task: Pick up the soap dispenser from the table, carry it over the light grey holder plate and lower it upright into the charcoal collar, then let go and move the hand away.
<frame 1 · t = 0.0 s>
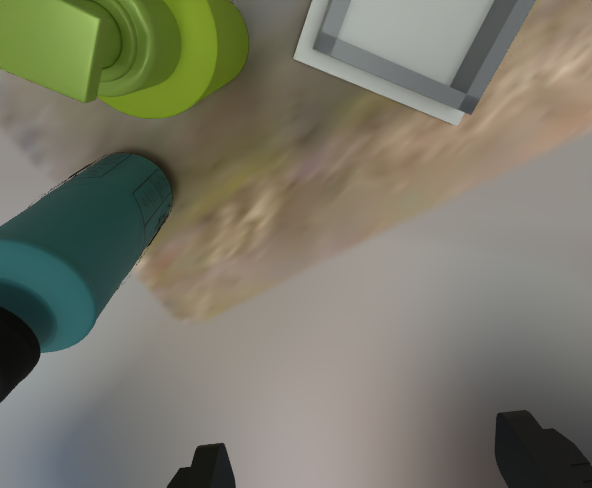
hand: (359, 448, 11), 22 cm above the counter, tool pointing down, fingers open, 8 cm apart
beverage bottle: (141, 184, 30), on the counter
soap dispenser: (199, 36, 25), on the counter
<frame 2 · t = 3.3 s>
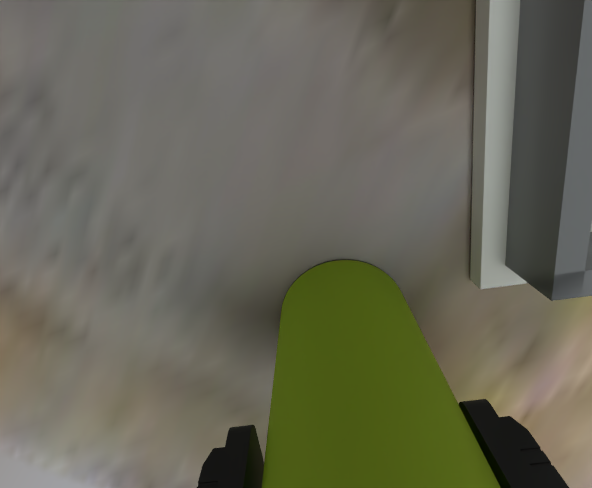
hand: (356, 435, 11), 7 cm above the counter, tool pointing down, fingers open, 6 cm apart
soap dispenser: (331, 314, 18), on the counter, touching gripper
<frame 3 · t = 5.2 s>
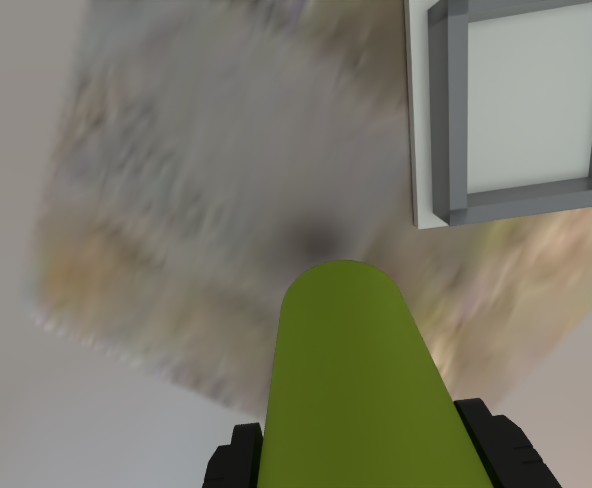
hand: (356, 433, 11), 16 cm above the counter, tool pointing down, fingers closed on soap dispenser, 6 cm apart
dispenser holder: (512, 106, 23), on the counter
soap dispenser: (330, 314, 18), point 10 cm above the counter, touching gripper
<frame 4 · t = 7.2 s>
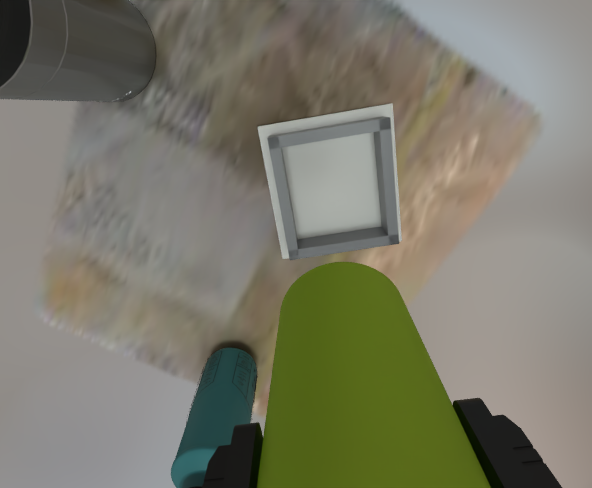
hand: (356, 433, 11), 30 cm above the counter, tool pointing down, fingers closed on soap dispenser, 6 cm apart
dispenser holder: (332, 185, 38), on the counter
beverage bottle: (234, 359, 46), on the counter
soap dispenser: (330, 315, 18), point 23 cm above the counter, touching gripper
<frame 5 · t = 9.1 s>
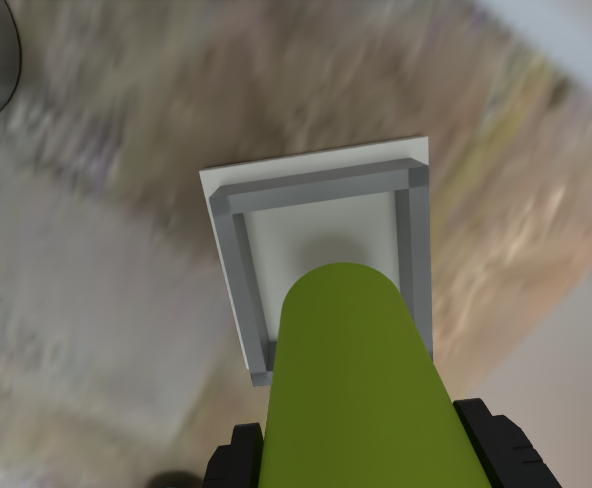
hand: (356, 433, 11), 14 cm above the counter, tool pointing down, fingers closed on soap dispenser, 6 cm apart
dispenser holder: (325, 260, 24), on the counter
soap dispenser: (331, 316, 18), point 7 cm above the counter, touching gripper
when the fingers open (9 cm above the counter, at t = 10.7 s): soap dispenser stays where it is, resting on dispenser holder.
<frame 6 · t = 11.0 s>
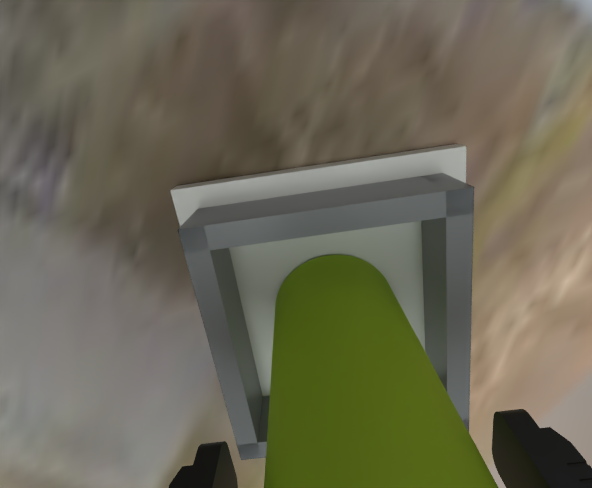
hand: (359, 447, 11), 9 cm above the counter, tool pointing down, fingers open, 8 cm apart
dispenser holder: (331, 298, 19), on the counter
soap dispenser: (323, 306, 19), point 1 cm above the counter, touching dispenser holder
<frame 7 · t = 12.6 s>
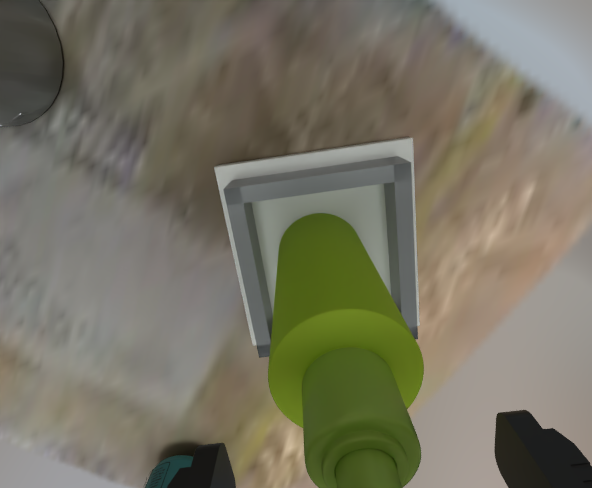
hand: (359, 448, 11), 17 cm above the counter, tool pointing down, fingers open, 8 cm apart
dispenser holder: (323, 247, 27), on the counter
beverage bottle: (191, 462, 35), on the counter
soap dispenser: (312, 252, 26), point 1 cm above the counter, touching dispenser holder, gripper
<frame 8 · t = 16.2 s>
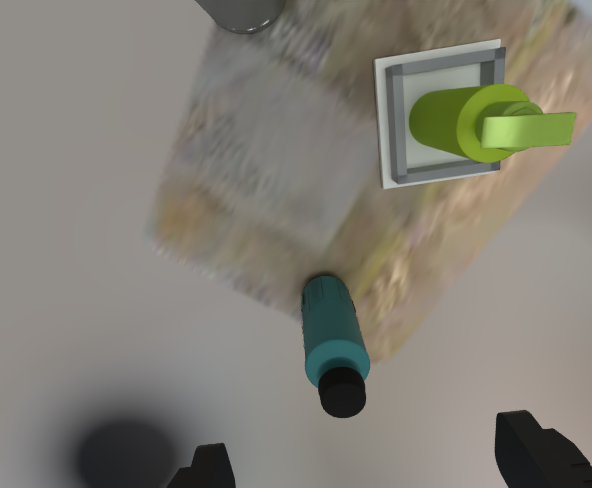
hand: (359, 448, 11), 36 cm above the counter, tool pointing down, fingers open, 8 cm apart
dispenser holder: (434, 118, 42), on the counter
beverage bottle: (324, 290, 50), on the counter
soap dispenser: (429, 119, 41), point 1 cm above the counter, touching dispenser holder
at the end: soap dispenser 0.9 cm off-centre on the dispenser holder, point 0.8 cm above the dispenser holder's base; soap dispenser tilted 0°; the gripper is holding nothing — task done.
